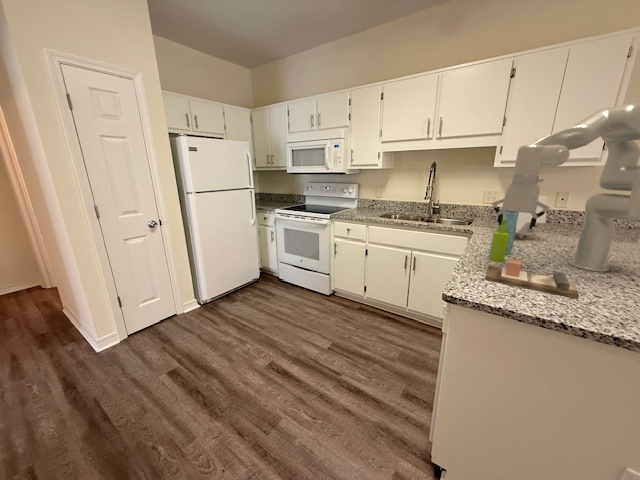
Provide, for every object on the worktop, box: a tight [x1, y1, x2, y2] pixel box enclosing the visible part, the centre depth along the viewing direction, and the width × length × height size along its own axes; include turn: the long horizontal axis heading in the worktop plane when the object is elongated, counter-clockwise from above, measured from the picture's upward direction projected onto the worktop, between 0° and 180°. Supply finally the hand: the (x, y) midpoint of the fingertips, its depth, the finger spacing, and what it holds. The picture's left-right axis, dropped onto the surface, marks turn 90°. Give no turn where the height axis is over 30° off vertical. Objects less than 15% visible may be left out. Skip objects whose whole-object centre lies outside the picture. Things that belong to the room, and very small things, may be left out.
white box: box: [495, 195, 548, 240], centre depth 160 cm, size 20×16×25 cm
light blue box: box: [504, 211, 519, 256], centre depth 135 cm, size 20×5×23 cm, turn 140°
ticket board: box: [485, 265, 580, 300], centre depth 98 cm, size 26×14×4 cm, turn 54°
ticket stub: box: [501, 258, 528, 282], centre depth 100 cm, size 8×10×6 cm
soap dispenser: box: [488, 217, 509, 263], centre depth 120 cm, size 6×7×20 cm
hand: (514, 226), depth 100 cm, fingers open, 9 cm apart
